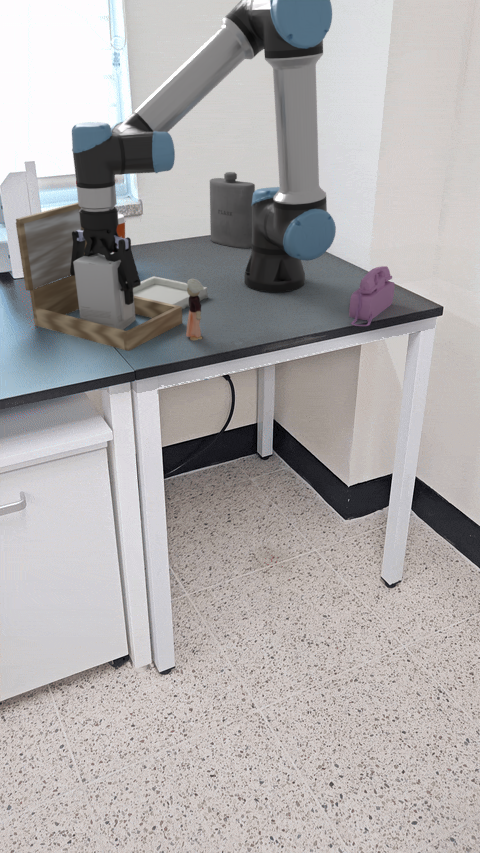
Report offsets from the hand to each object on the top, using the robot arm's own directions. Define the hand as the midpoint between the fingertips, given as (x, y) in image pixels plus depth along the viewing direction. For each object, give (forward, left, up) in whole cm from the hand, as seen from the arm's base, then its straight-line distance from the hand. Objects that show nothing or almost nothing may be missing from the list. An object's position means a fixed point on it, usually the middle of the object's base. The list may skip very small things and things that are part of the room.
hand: (107, 313), depth 154 cm
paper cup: (+25, -31, -3) cm, 40 cm away
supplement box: (0, 0, -3) cm, 3 cm away
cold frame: (0, 0, -3) cm, 3 cm away
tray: (0, -18, -3) cm, 18 cm away
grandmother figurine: (-20, -4, -3) cm, 21 cm away
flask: (+13, -69, -3) cm, 70 cm away
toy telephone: (-45, -37, -3) cm, 58 cm away
